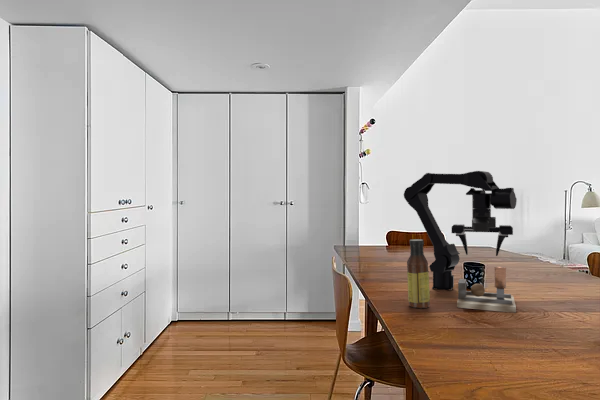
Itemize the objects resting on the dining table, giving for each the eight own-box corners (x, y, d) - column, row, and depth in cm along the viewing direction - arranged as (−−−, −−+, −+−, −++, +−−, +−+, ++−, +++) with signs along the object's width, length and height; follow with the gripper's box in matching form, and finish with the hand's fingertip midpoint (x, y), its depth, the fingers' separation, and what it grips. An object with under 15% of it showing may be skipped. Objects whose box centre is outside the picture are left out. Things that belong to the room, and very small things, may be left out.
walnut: (470, 297, 135) (470, 284, 135) (471, 294, 139) (471, 281, 139) (484, 298, 134) (484, 285, 134) (484, 295, 137) (484, 282, 137)
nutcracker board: (457, 307, 131) (457, 285, 131) (460, 296, 146) (460, 276, 146) (515, 312, 125) (515, 289, 125) (513, 300, 140) (513, 279, 140)
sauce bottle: (430, 304, 134) (430, 239, 134) (429, 309, 128) (429, 241, 128) (408, 303, 137) (408, 238, 136) (406, 308, 131) (405, 240, 131)
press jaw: (494, 300, 132) (494, 268, 132) (494, 296, 137) (494, 265, 137) (506, 301, 130) (506, 269, 130) (505, 297, 136) (505, 266, 136)
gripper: (450, 209, 145) (450, 257, 145) (513, 209, 138) (513, 259, 138) (452, 208, 155) (452, 253, 155) (512, 208, 148) (512, 255, 148)
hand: (481, 255), depth 149 cm, fingers open, 9 cm apart
